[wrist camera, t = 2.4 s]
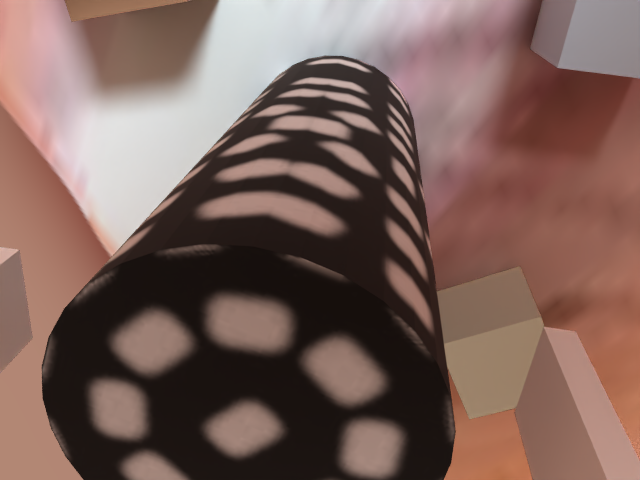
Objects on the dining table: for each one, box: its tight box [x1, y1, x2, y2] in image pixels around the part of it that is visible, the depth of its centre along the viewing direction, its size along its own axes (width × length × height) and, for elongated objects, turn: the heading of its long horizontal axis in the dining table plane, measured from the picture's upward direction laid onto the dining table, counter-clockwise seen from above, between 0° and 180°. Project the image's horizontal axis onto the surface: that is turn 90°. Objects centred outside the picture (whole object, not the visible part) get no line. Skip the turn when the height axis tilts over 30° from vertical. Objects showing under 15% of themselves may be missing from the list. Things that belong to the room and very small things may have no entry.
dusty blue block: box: [530, 0, 640, 78], centre depth 23 cm, size 5×5×5 cm
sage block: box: [437, 266, 544, 419], centre depth 31 cm, size 5×5×5 cm
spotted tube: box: [42, 56, 456, 480], centre depth 20 cm, size 8×8×20 cm
